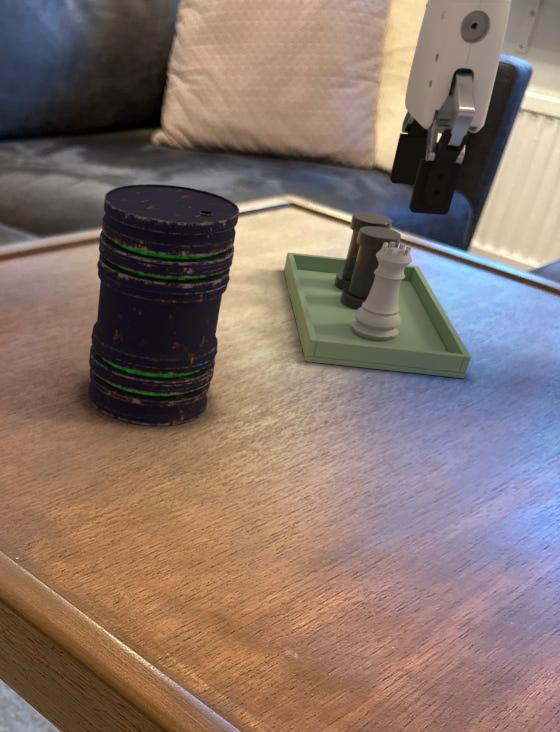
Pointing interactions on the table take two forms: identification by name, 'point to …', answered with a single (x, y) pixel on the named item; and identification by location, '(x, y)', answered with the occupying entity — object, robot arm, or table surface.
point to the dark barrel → (159, 301)
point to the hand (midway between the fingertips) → (417, 197)
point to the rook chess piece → (383, 295)
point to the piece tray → (344, 347)
